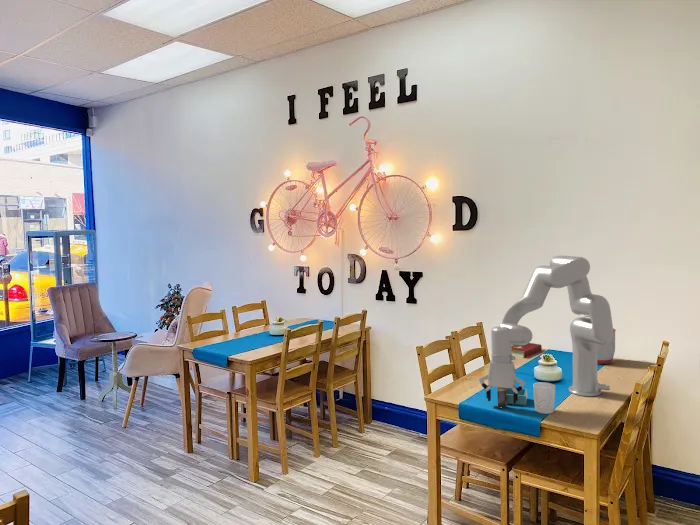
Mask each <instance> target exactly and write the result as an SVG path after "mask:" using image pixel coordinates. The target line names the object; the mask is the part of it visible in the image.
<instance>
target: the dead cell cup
mask: <svg viewBox="0 0 700 525" xmlns="http://www.w3.org/2000/svg"><path fill="white" fill-rule="evenodd" d="M513 394H514V391H513V390H512V389H511V388H507V405H509V404H512V405H511V406H519V405H520V406H522V407H526V406H527V403H528V389H527V388H522V390H521V391H519V392H518V401H516V404H514V399H513Z"/></svg>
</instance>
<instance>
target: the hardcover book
mask: <svg viewBox="0 0 700 525" xmlns="http://www.w3.org/2000/svg"><path fill="white" fill-rule="evenodd" d="M542 350H543V347H542V344H540V343H534V342H529V343H528V344H526V345H512V346H511V352H512V356H517V357H516V358H521V357H522V359H526V358H527V356H528V357H529V355H530V356H532V355H534V354H538V353H539V352H542Z"/></svg>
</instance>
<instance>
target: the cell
mask: <svg viewBox="0 0 700 525" xmlns="http://www.w3.org/2000/svg"><path fill="white" fill-rule="evenodd" d="M496 390H497V391H496V395H497V399H496V402H497V408H498V407H502V408H505V409H507V408H506V407H508V404H507V388H498V387H496Z"/></svg>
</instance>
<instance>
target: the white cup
mask: <svg viewBox="0 0 700 525" xmlns="http://www.w3.org/2000/svg"><path fill="white" fill-rule="evenodd" d="M532 387H533V388H532V389H533V403H534V410H535V412H537V413H538V414H546V415H549V414H550V415H551V414H553V413H554V410H555V399H556V397H555V396H556V385H555V384H553V383H550V382H545V381H543V382H542V381H541V382H535V383H533V385H532Z"/></svg>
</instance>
